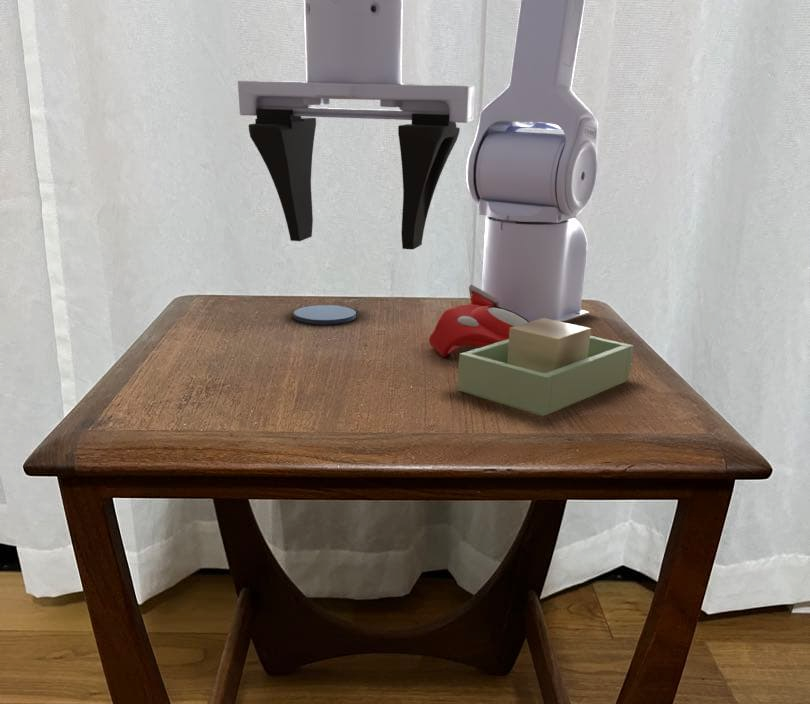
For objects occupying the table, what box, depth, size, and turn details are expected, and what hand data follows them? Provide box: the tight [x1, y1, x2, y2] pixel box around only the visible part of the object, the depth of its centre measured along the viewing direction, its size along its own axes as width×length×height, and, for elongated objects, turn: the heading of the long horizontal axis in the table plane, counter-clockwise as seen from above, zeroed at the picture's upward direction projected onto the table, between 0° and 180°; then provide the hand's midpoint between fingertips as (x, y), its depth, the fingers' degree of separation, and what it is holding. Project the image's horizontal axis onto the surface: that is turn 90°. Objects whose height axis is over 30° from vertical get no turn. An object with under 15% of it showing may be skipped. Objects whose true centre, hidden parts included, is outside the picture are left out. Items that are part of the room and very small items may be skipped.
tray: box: [457, 335, 634, 417], centre depth 61 cm, size 11×7×3 cm
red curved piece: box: [428, 284, 529, 358], centre depth 70 cm, size 12×4×10 cm
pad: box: [293, 304, 357, 325], centre depth 79 cm, size 6×6×1 cm
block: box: [507, 318, 592, 374], centre depth 61 cm, size 4×4×4 cm
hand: (355, 242), depth 57 cm, fingers open, 7 cm apart
